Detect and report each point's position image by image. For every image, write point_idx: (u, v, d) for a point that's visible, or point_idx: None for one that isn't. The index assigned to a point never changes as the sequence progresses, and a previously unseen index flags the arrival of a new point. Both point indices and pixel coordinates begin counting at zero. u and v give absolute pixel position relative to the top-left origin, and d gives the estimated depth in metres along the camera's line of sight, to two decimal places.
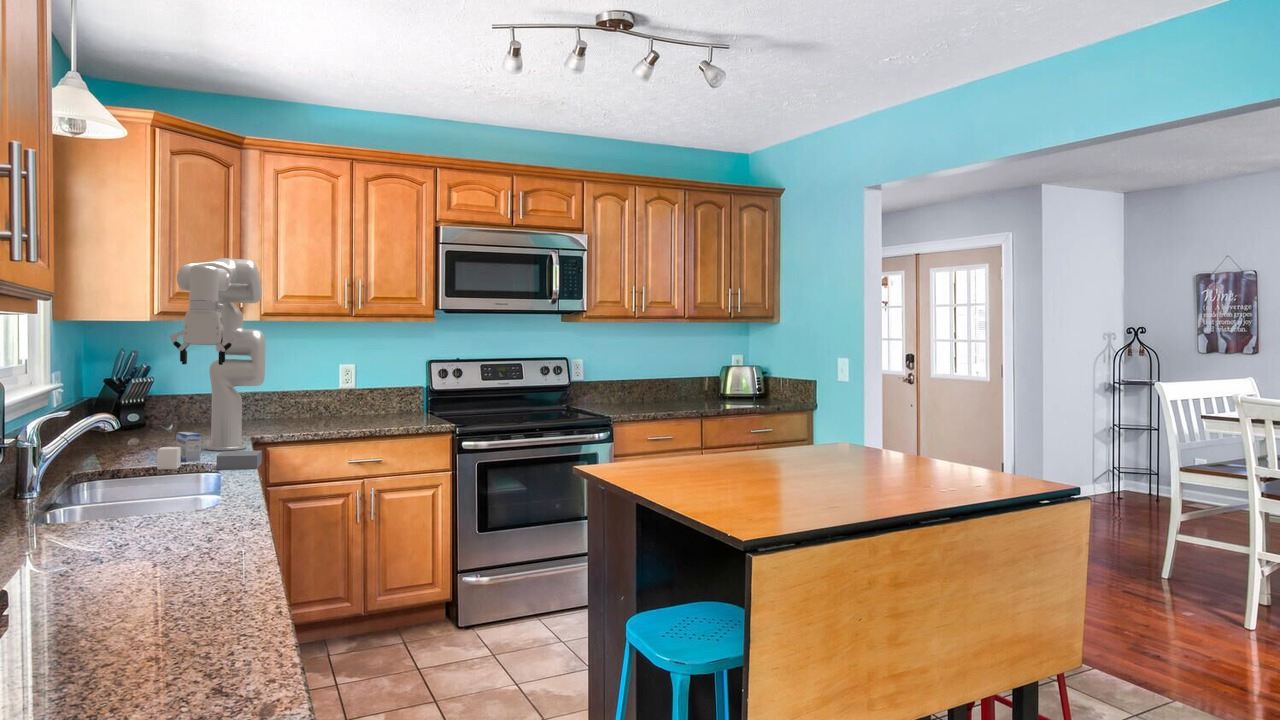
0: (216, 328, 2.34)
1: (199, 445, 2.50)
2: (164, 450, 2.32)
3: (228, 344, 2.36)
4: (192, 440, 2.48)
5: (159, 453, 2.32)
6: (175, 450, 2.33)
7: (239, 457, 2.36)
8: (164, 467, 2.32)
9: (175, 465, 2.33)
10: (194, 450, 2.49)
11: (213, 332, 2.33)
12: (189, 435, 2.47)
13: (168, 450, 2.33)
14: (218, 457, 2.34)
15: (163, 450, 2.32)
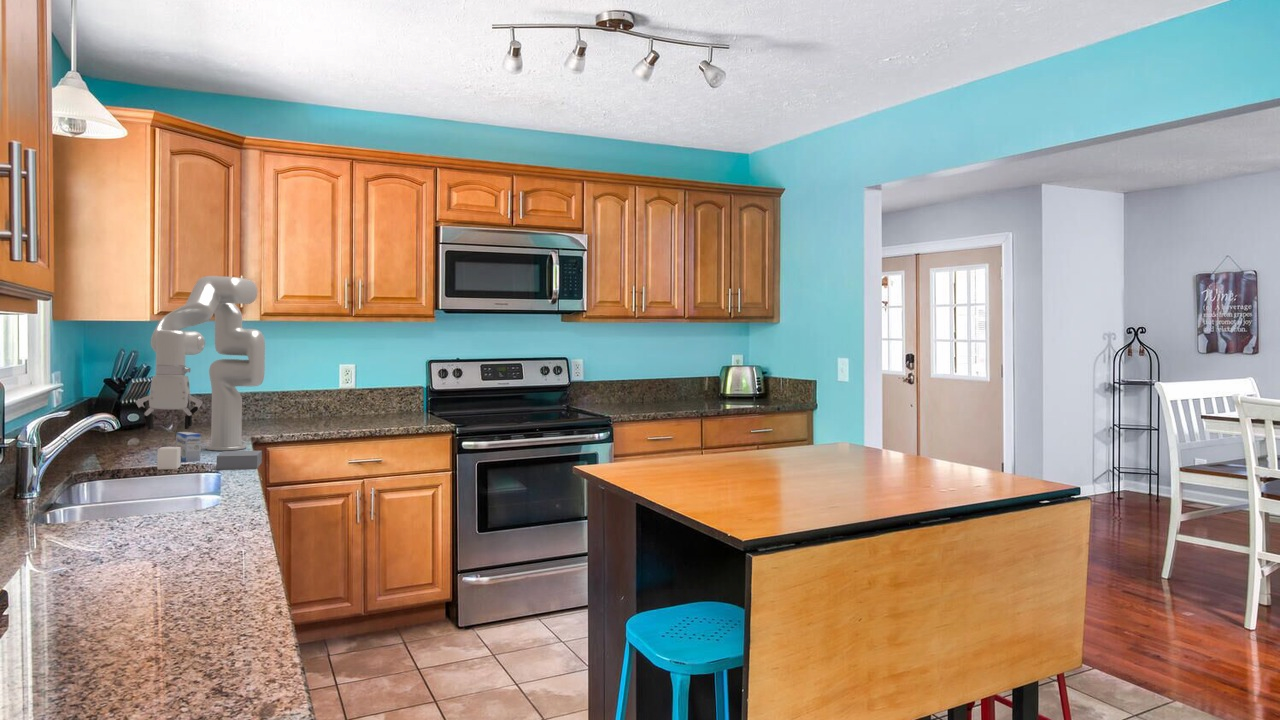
0: (182, 392, 2.34)
1: (199, 445, 2.50)
2: (164, 450, 2.32)
3: (195, 408, 2.36)
4: (192, 440, 2.48)
5: (159, 453, 2.32)
6: (175, 450, 2.33)
7: (239, 457, 2.36)
8: (164, 467, 2.32)
9: (175, 465, 2.33)
10: (194, 449, 2.49)
11: (179, 396, 2.33)
12: (189, 435, 2.47)
13: (168, 450, 2.33)
14: (218, 457, 2.34)
15: (163, 450, 2.32)
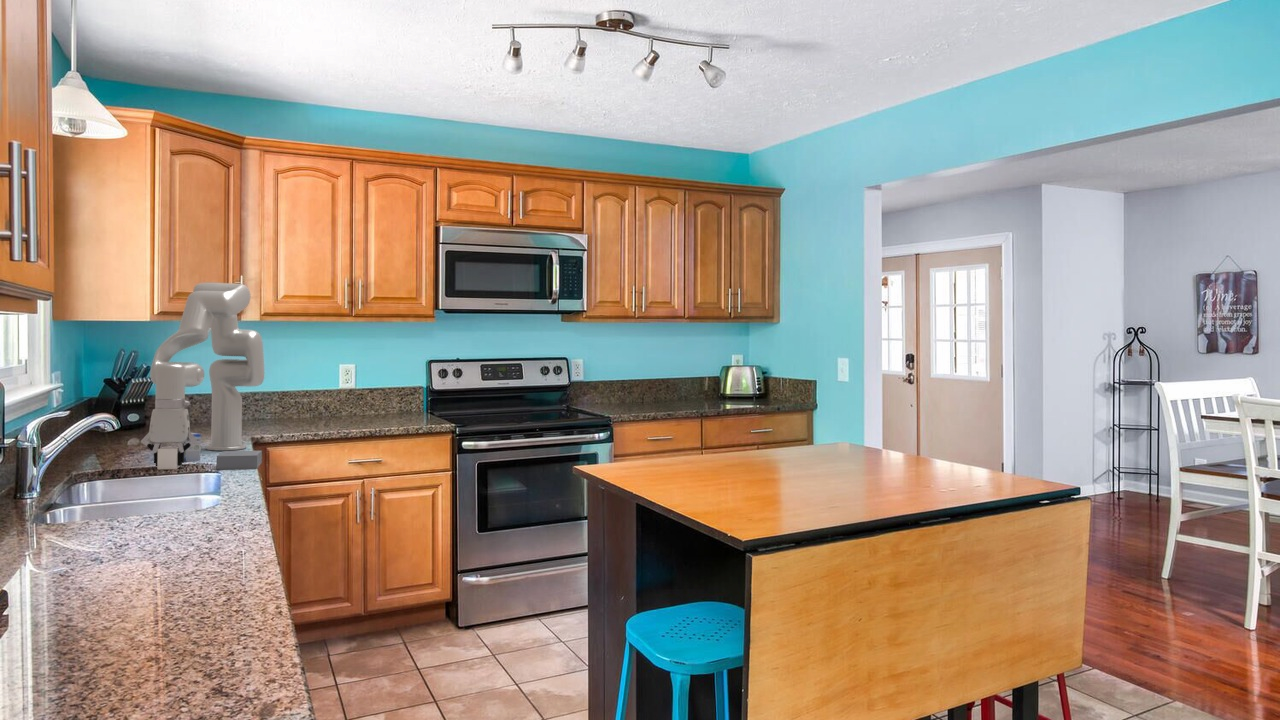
0: (182, 426, 2.34)
1: (199, 445, 2.50)
2: (164, 450, 2.32)
3: (187, 445, 2.36)
4: None
5: (159, 453, 2.32)
6: (175, 450, 2.33)
7: (239, 457, 2.36)
8: (164, 467, 2.32)
9: (175, 465, 2.33)
10: (194, 449, 2.49)
11: (179, 430, 2.34)
12: None
13: (168, 450, 2.33)
14: (218, 457, 2.34)
15: (163, 450, 2.32)
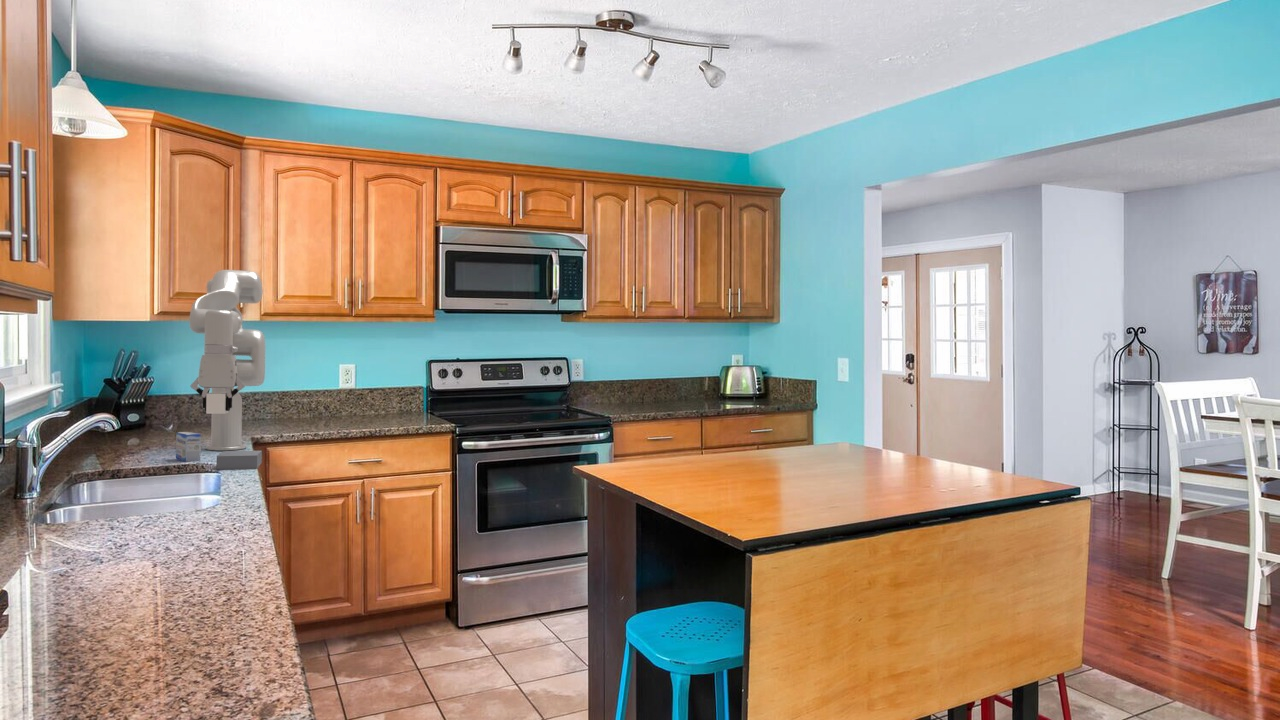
0: (230, 371, 2.38)
1: (199, 445, 2.50)
2: (213, 394, 2.36)
3: (235, 390, 2.39)
4: (192, 440, 2.48)
5: (208, 397, 2.36)
6: (223, 395, 2.37)
7: (239, 457, 2.36)
8: (213, 411, 2.36)
9: (223, 409, 2.37)
10: (194, 450, 2.49)
11: (227, 375, 2.37)
12: (189, 435, 2.47)
13: (216, 394, 2.36)
14: (218, 457, 2.34)
15: (212, 394, 2.36)
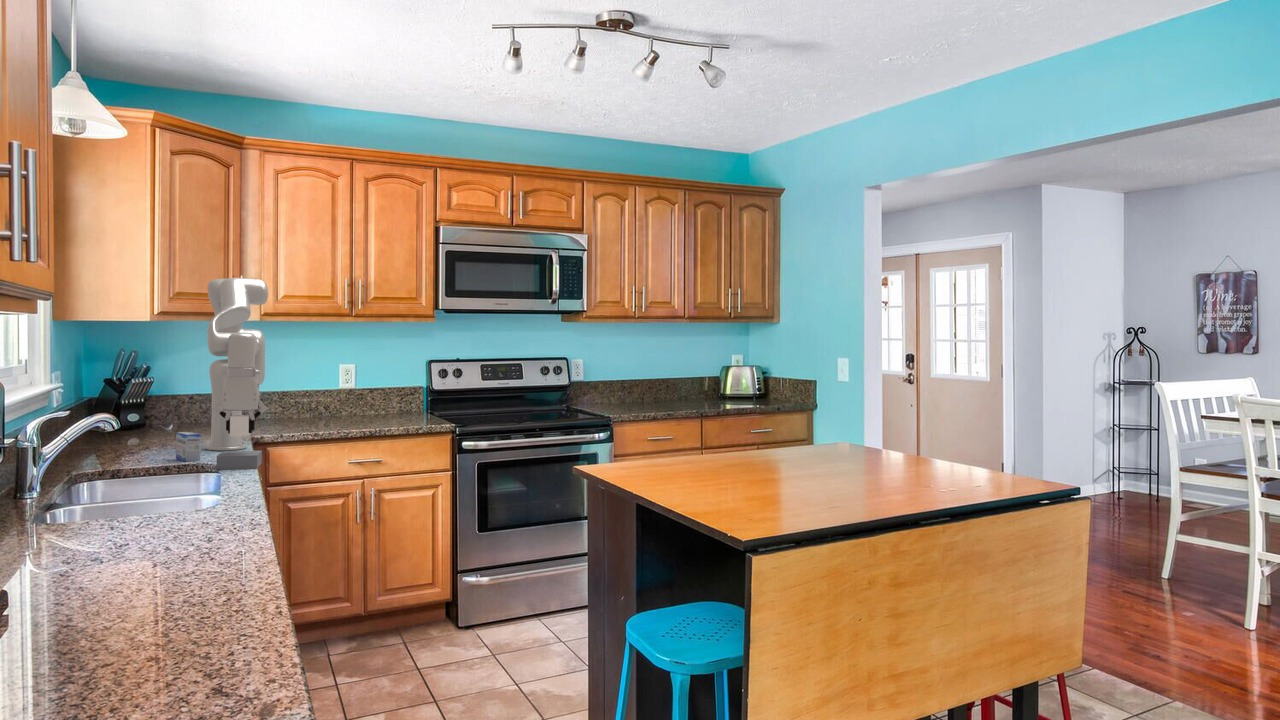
0: (253, 394, 2.40)
1: (199, 445, 2.50)
2: (236, 417, 2.38)
3: (257, 412, 2.42)
4: (192, 440, 2.48)
5: (231, 420, 2.38)
6: (247, 417, 2.39)
7: (239, 457, 2.36)
8: (236, 434, 2.38)
9: (247, 432, 2.39)
10: (194, 449, 2.49)
11: (251, 398, 2.40)
12: (189, 435, 2.47)
13: (240, 417, 2.39)
14: (218, 457, 2.34)
15: (235, 417, 2.38)
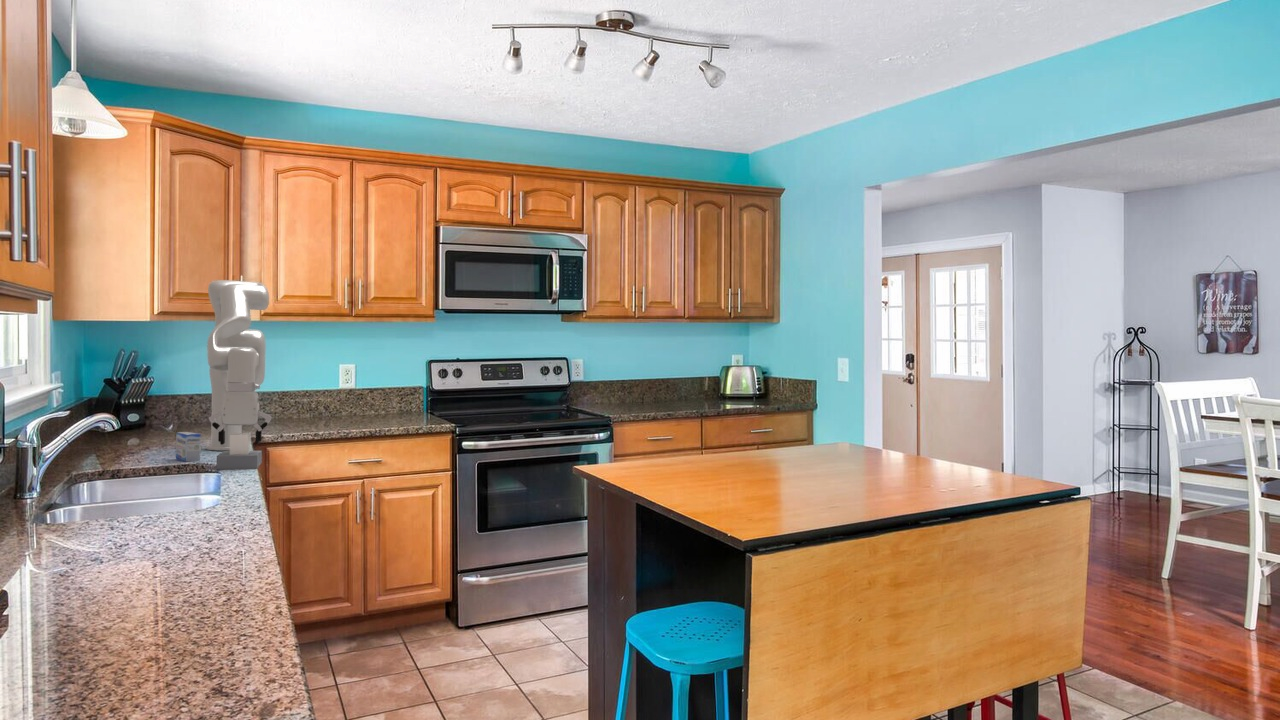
0: (253, 409, 2.40)
1: (199, 445, 2.50)
2: (236, 435, 2.39)
3: (264, 423, 2.42)
4: (192, 440, 2.48)
5: (231, 438, 2.38)
6: (246, 435, 2.39)
7: (239, 457, 2.36)
8: (236, 452, 2.39)
9: (246, 450, 2.40)
10: (194, 449, 2.49)
11: (250, 413, 2.40)
12: (189, 435, 2.47)
13: (240, 435, 2.39)
14: (218, 457, 2.34)
15: (235, 435, 2.38)
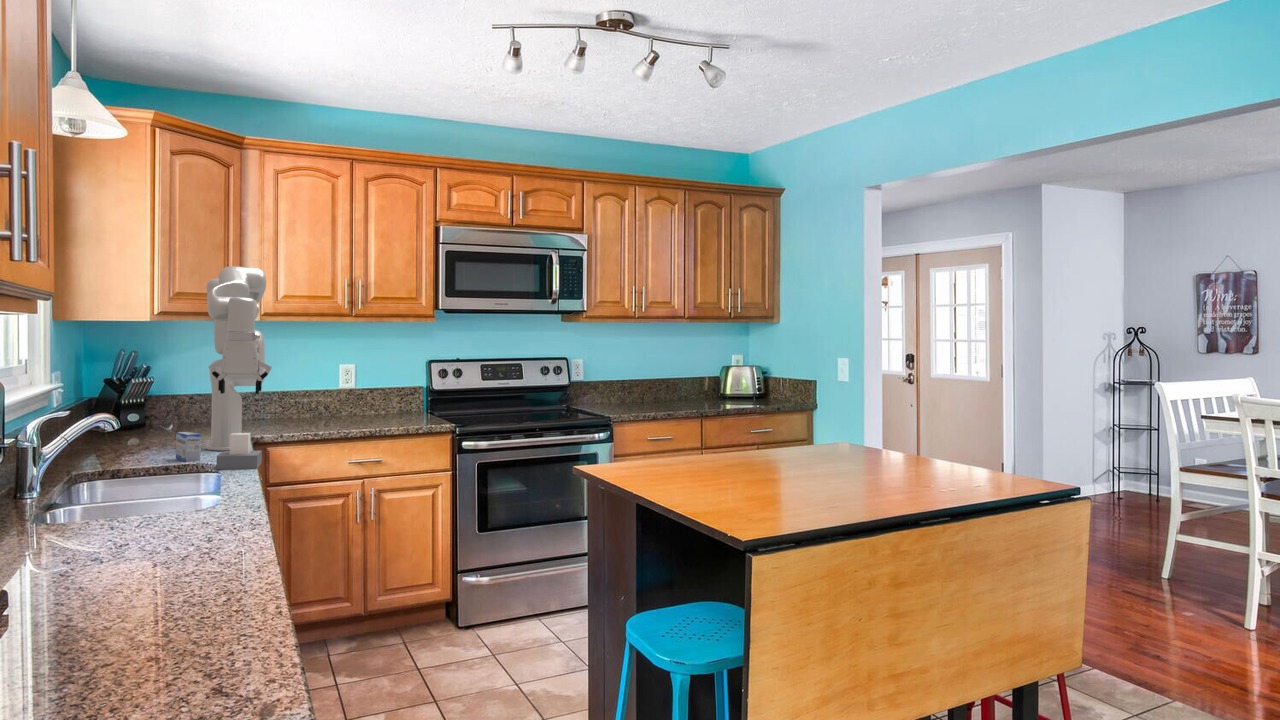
0: (253, 358, 2.40)
1: (199, 445, 2.50)
2: (236, 435, 2.39)
3: (265, 373, 2.43)
4: (192, 440, 2.48)
5: (231, 438, 2.38)
6: (246, 435, 2.39)
7: (239, 457, 2.36)
8: (236, 452, 2.39)
9: (246, 450, 2.40)
10: (194, 449, 2.49)
11: (250, 362, 2.40)
12: (189, 435, 2.47)
13: (240, 435, 2.39)
14: (218, 457, 2.34)
15: (235, 435, 2.38)
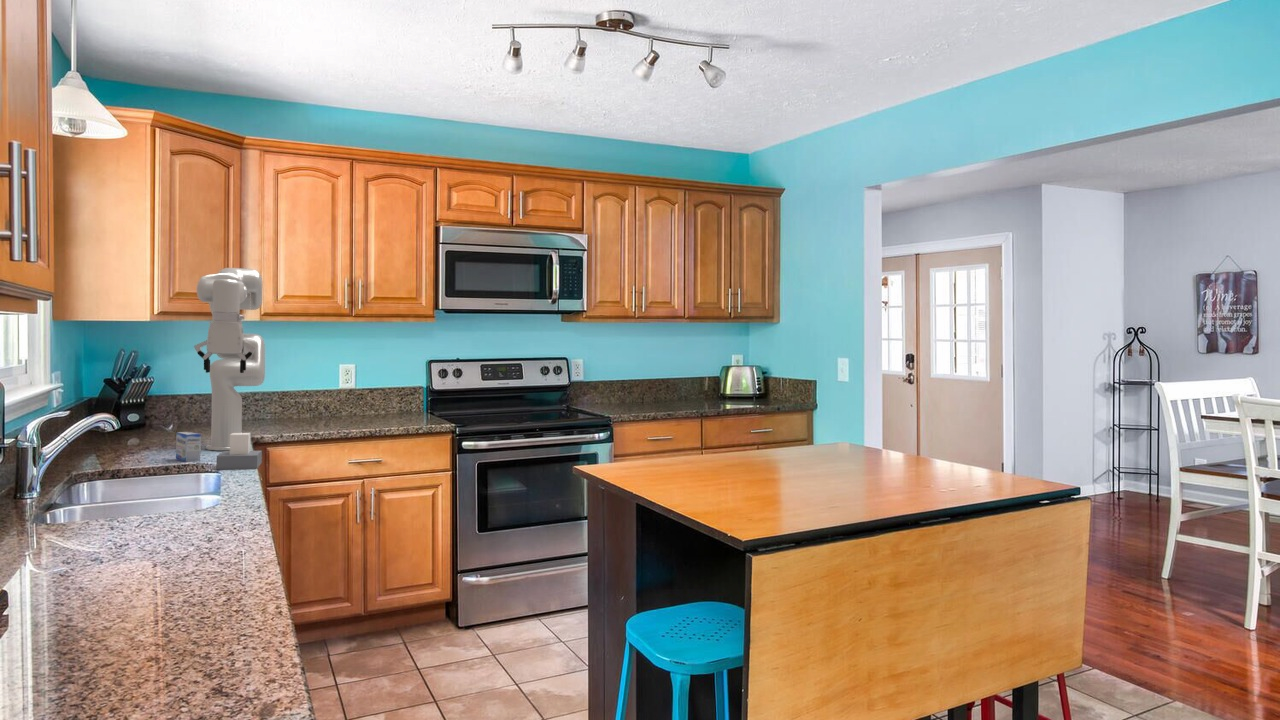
0: (238, 338, 2.47)
1: (199, 445, 2.50)
2: (236, 435, 2.39)
3: (249, 353, 2.50)
4: (192, 440, 2.48)
5: (231, 438, 2.38)
6: (246, 435, 2.39)
7: (239, 457, 2.36)
8: (236, 452, 2.39)
9: (246, 450, 2.40)
10: (194, 449, 2.49)
11: (235, 342, 2.47)
12: (189, 435, 2.47)
13: (240, 435, 2.39)
14: (218, 457, 2.34)
15: (235, 435, 2.38)
